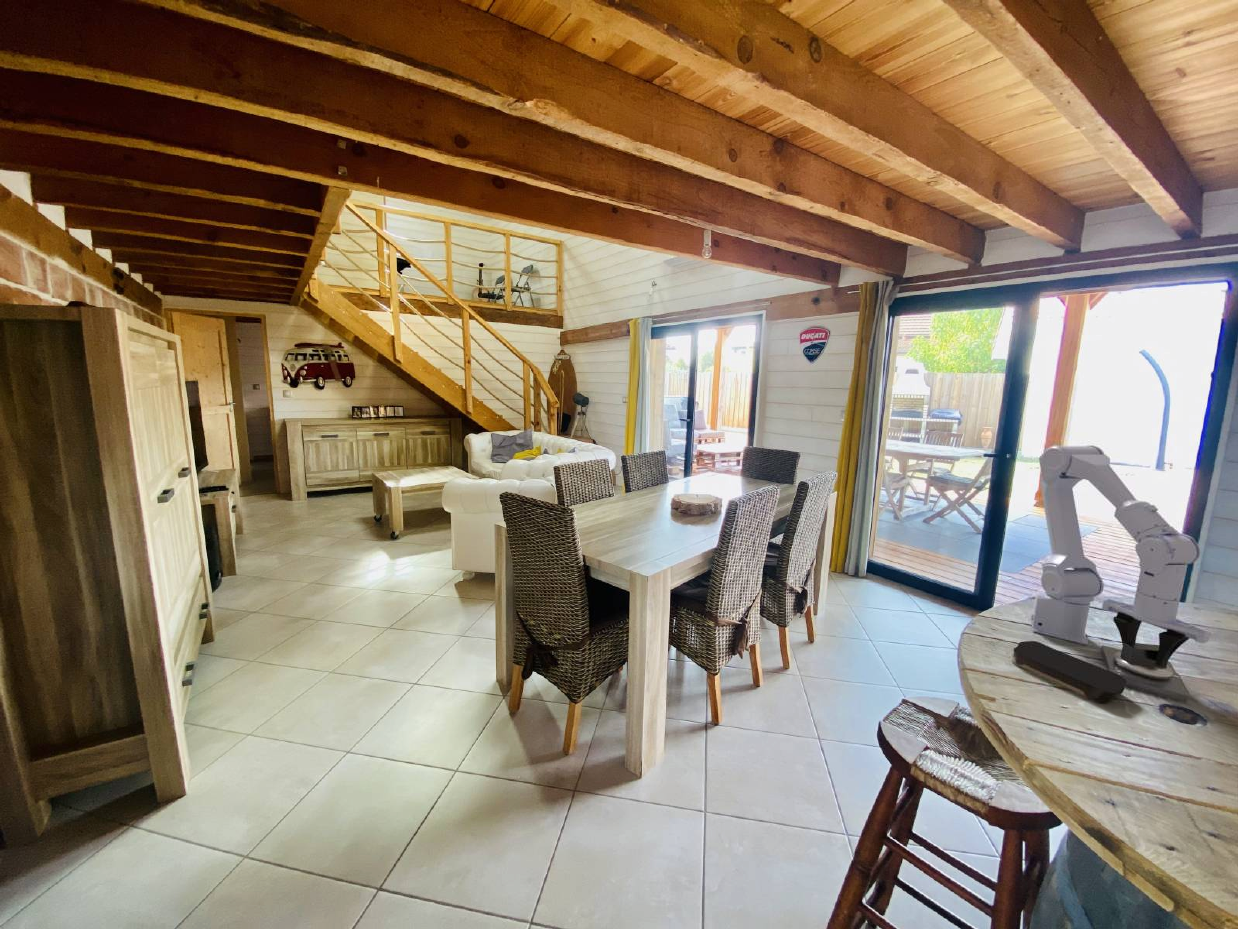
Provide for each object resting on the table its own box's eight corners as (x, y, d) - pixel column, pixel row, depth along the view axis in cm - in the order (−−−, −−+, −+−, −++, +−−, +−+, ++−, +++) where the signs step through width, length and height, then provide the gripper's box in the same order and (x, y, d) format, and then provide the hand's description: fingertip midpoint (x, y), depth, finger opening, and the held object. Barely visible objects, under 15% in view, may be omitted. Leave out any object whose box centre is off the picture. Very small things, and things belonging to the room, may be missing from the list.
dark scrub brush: (1129, 698, 90) (1132, 680, 89) (1106, 710, 87) (1110, 691, 86) (1027, 653, 105) (1029, 637, 104) (1004, 662, 101) (1006, 646, 101)
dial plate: (1110, 681, 94) (1111, 673, 94) (1100, 651, 105) (1102, 644, 105) (1187, 703, 88) (1189, 695, 88) (1168, 668, 99) (1170, 661, 98)
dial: (1135, 676, 93) (1140, 655, 92) (1103, 653, 101) (1106, 634, 100) (1184, 681, 92) (1189, 660, 91) (1147, 658, 99) (1152, 638, 99)
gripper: (1224, 607, 88) (1208, 674, 90) (1121, 577, 102) (1109, 636, 104) (1204, 613, 86) (1188, 682, 88) (1101, 581, 99) (1089, 642, 102)
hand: (1144, 658), depth 96 cm, fingers closed on dial, 4 cm apart
